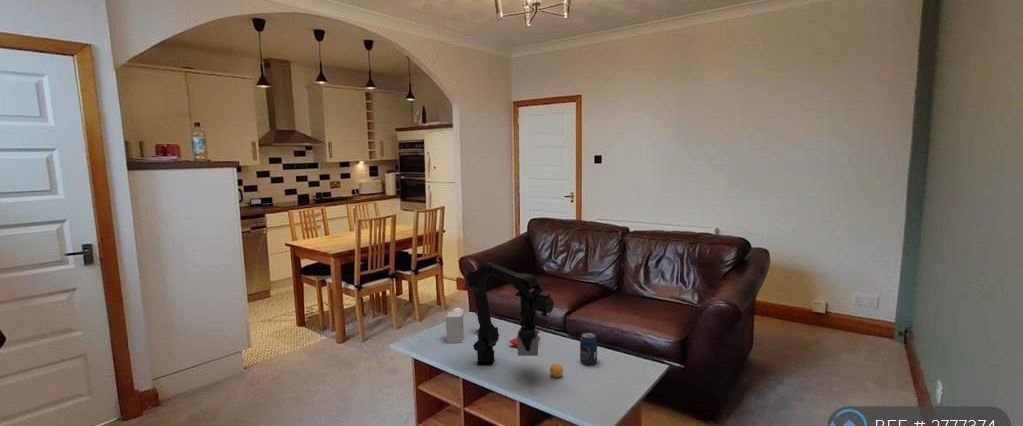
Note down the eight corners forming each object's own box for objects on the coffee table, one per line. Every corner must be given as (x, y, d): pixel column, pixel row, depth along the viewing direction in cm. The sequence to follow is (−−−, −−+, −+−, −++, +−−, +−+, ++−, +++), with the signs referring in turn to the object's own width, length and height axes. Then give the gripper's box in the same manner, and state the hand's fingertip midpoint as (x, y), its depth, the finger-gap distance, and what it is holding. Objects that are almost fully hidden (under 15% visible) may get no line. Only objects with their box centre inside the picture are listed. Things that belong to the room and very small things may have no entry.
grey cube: (517, 355, 184) (517, 337, 183) (518, 347, 192) (518, 329, 191) (537, 355, 184) (537, 337, 183) (538, 347, 191) (537, 329, 190)
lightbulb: (459, 332, 235) (458, 310, 233) (449, 330, 238) (448, 308, 237) (467, 328, 240) (466, 307, 239) (457, 326, 244) (456, 305, 242)
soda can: (576, 363, 199) (576, 335, 198) (586, 357, 204) (586, 330, 203) (591, 368, 195) (590, 339, 193) (600, 362, 200) (600, 334, 198)
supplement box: (462, 342, 223) (461, 316, 221) (446, 343, 223) (445, 317, 221) (464, 336, 230) (463, 311, 228) (448, 336, 230) (447, 311, 228)
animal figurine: (505, 346, 219) (504, 335, 218) (526, 336, 230) (526, 325, 229) (524, 353, 211) (524, 342, 210) (545, 341, 222) (545, 331, 221)
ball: (565, 375, 186) (554, 381, 186) (565, 369, 190) (554, 375, 191) (558, 364, 185) (547, 371, 186) (558, 359, 190) (547, 365, 191)
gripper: (548, 316, 176) (549, 357, 178) (548, 300, 194) (549, 337, 196) (518, 316, 176) (519, 357, 179) (520, 300, 195) (521, 337, 197)
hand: (528, 346), depth 188 cm, fingers closed on grey cube, 8 cm apart
